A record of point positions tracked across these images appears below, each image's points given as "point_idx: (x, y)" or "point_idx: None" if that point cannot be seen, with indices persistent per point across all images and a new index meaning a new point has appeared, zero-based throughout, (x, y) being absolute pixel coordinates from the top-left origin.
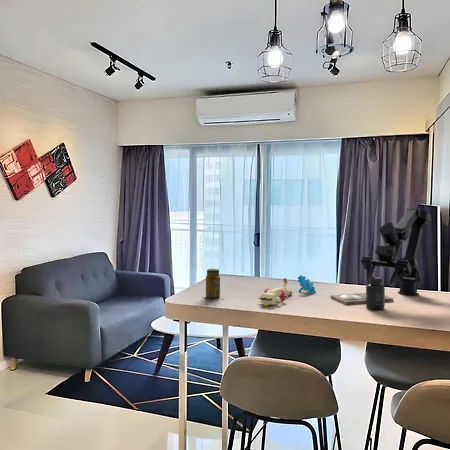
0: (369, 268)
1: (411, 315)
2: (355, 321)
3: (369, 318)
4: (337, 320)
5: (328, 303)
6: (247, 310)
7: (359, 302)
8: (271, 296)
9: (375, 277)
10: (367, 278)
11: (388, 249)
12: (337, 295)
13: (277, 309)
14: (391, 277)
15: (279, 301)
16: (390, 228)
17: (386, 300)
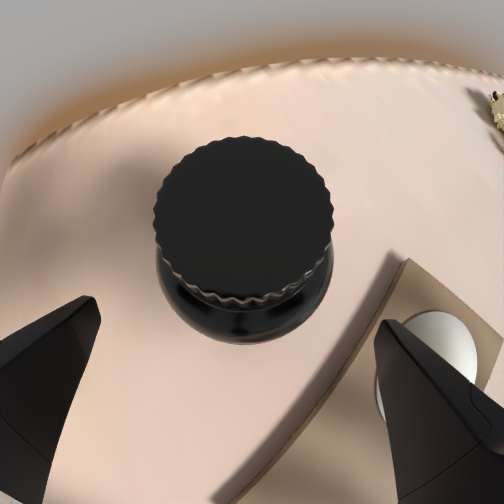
0: (477, 432)
1: (69, 271)
2: (239, 75)
3: (209, 121)
4: (290, 62)
5: (457, 238)
6: (474, 73)
7: (364, 337)
8: (502, 96)
9: (252, 233)
10: (391, 323)
11: None
12: (486, 361)
13: (463, 94)
14: (52, 326)
15: (494, 116)
16: None
17: (249, 486)
